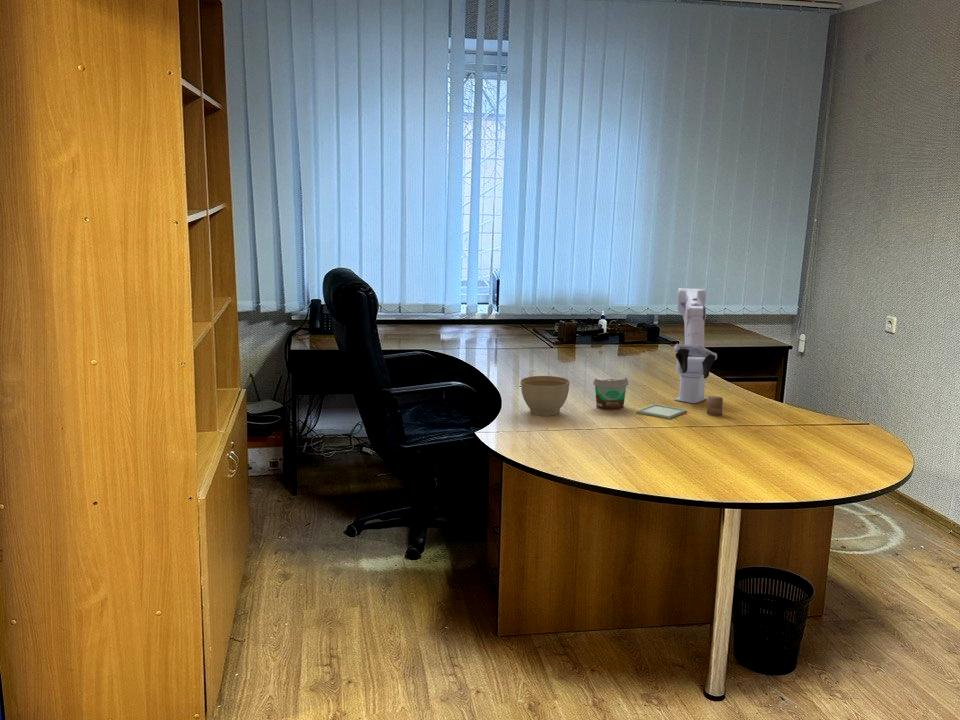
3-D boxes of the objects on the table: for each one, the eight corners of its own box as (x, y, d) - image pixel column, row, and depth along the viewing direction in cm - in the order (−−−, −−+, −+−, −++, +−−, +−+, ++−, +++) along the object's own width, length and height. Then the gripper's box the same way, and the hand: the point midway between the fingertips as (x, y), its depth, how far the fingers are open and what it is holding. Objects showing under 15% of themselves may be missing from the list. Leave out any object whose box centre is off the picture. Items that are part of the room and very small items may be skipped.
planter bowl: (538, 404, 303) (539, 373, 301) (578, 412, 293) (579, 380, 291) (510, 413, 290) (510, 381, 288) (550, 421, 280) (551, 388, 278)
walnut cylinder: (710, 411, 295) (711, 395, 294) (724, 413, 292) (725, 397, 291) (704, 414, 292) (705, 397, 290) (718, 416, 289) (719, 400, 287)
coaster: (654, 406, 301) (654, 403, 301) (686, 412, 294) (686, 409, 294) (636, 412, 292) (636, 410, 292) (669, 419, 285) (669, 416, 285)
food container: (599, 411, 293) (600, 382, 291) (592, 407, 299) (593, 378, 297) (633, 409, 297) (634, 380, 295) (625, 405, 302) (627, 376, 300)
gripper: (681, 327, 289) (680, 364, 283) (721, 337, 292) (721, 374, 285) (671, 337, 295) (670, 373, 289) (710, 347, 298) (711, 383, 292)
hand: (695, 374), depth 287 cm, fingers open, 7 cm apart
